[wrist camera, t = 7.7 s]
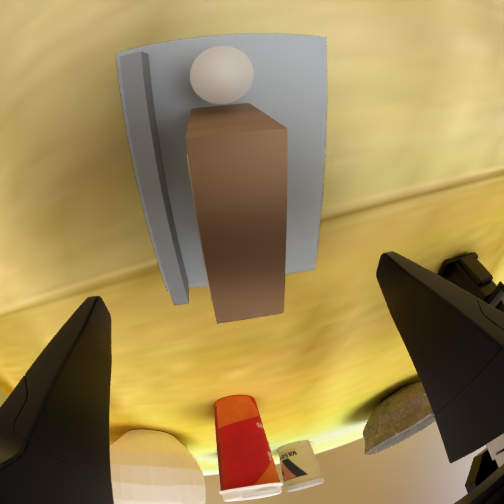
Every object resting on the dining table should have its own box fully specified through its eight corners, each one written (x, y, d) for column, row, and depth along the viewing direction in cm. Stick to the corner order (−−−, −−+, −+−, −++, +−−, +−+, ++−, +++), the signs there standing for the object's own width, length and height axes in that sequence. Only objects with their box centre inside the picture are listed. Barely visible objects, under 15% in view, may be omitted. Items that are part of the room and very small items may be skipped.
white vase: (78, 420, 35) (79, 550, 15) (172, 415, 35) (192, 572, 15) (133, 450, 46) (141, 550, 26) (212, 444, 46) (232, 554, 27)
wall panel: (311, 262, 22) (334, 307, 18) (167, 283, 21) (164, 334, 17) (320, 38, 12) (364, 31, 8) (119, 53, 11) (88, 48, 7)
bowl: (372, 419, 58) (384, 451, 50) (332, 416, 47) (347, 459, 39) (441, 374, 51) (459, 406, 43) (424, 358, 40) (448, 403, 33)
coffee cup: (292, 440, 53) (304, 486, 43) (320, 438, 57) (333, 479, 48) (267, 452, 57) (277, 493, 47) (295, 450, 61) (305, 488, 51)
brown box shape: (255, 230, 18) (283, 312, 13) (206, 237, 18) (215, 323, 12) (248, 103, 13) (287, 128, 8) (189, 109, 13) (182, 138, 8)
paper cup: (245, 415, 38) (262, 498, 27) (197, 410, 35) (209, 503, 24) (274, 393, 35) (299, 488, 24) (222, 387, 31) (241, 497, 20)
